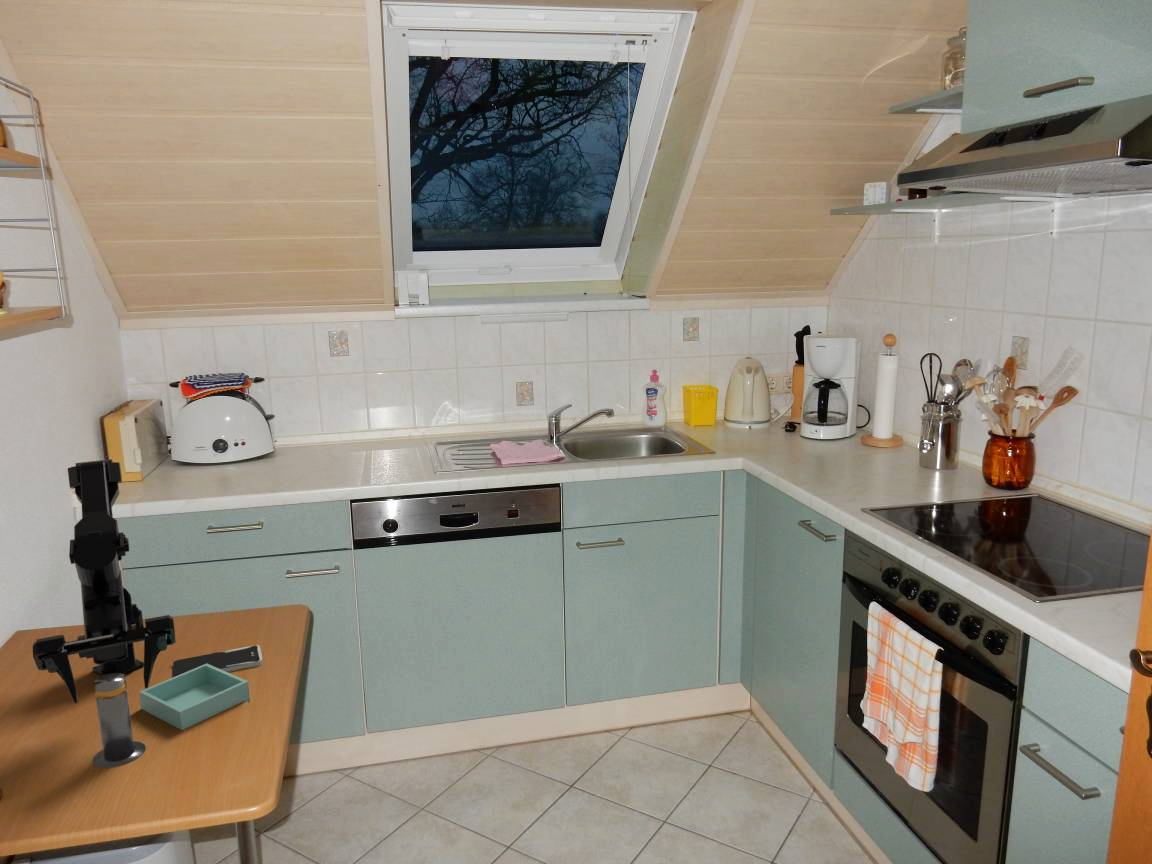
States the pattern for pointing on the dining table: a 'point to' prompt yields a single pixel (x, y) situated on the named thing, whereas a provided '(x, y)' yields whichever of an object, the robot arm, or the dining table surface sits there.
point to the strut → (114, 716)
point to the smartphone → (222, 660)
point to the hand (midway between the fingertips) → (111, 695)
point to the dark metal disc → (102, 763)
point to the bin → (194, 696)
